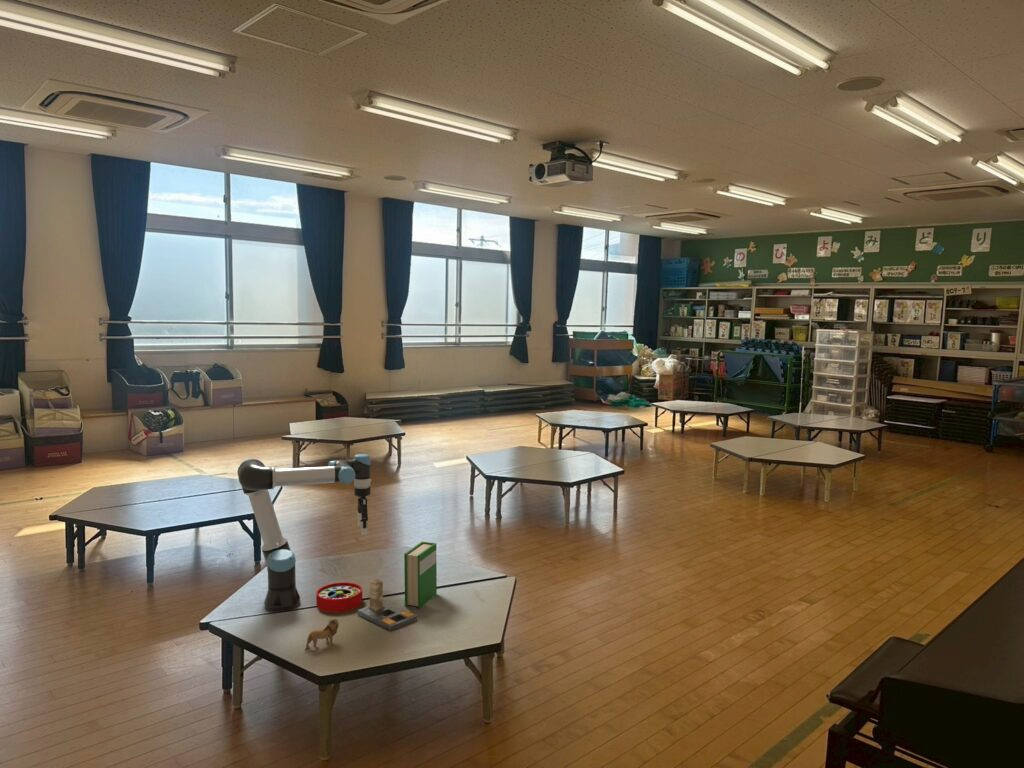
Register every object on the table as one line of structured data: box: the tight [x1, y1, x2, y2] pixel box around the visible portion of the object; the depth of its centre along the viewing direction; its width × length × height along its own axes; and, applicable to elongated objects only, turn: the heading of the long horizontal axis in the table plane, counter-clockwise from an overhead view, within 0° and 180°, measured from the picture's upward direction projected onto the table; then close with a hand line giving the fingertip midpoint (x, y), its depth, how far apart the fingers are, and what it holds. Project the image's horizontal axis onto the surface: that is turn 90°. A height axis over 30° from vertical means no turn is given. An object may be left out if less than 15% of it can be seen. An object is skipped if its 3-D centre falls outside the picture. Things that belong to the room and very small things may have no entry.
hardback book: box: [403, 541, 438, 609], centre depth 311 cm, size 18×7×24 cm, turn 162°
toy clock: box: [315, 581, 363, 613], centre depth 308 cm, size 20×6×20 cm
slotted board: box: [356, 600, 418, 632], centre depth 293 cm, size 14×23×2 cm, turn 47°
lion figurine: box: [304, 618, 340, 651], centre depth 268 cm, size 15×5×9 cm, turn 137°
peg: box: [369, 578, 384, 612], centre depth 298 cm, size 4×4×14 cm
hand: (362, 530), depth 331 cm, fingers open, 13 cm apart
